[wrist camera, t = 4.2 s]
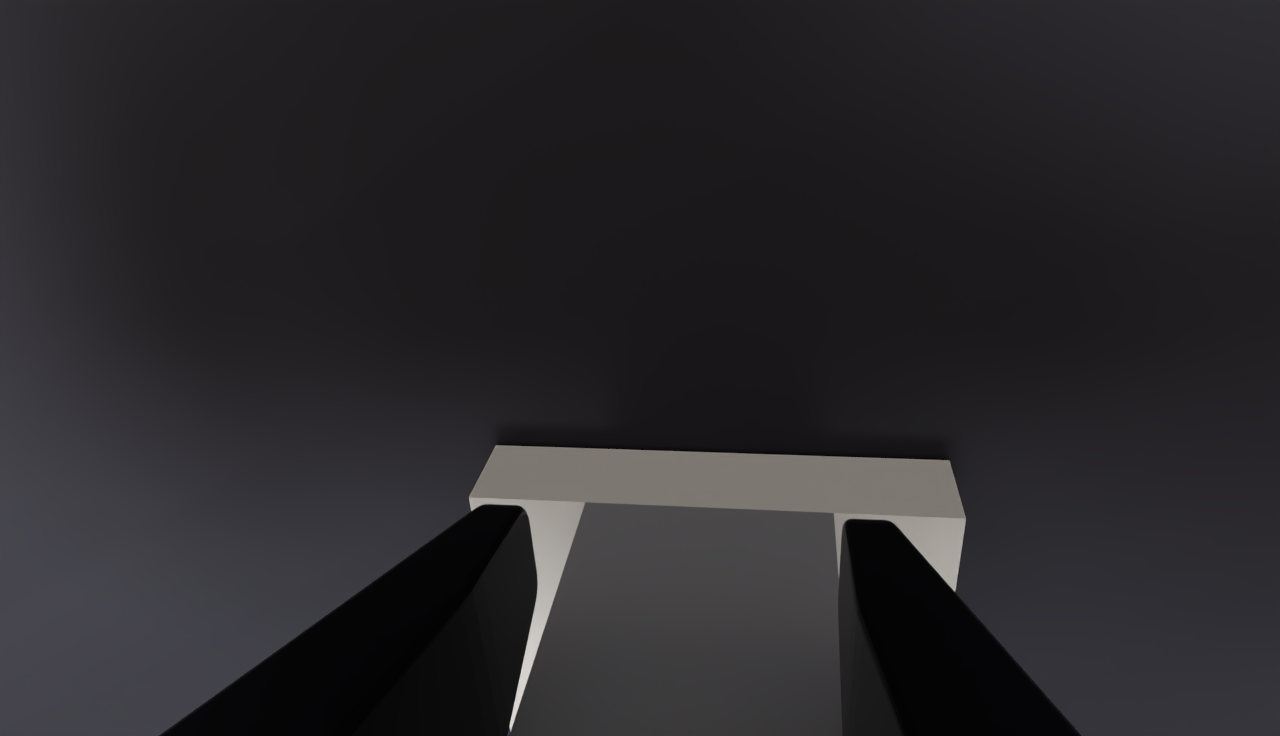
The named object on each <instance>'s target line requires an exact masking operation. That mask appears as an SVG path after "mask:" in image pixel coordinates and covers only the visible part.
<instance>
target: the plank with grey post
mask: <svg viewBox="0 0 1280 736" xmlns="http://www.w3.org/2000/svg"><path fill="white" fill-rule="evenodd" d="M469 501H470V507H471V511H472V510H474V509H475V508H477V507H479V506H480V505H484V504H497V505H518V506H521V507H522V508H524V509H525V510H526V512H527V515H528V517H529V522H530V528H531V535H532V542H533V549H534V556H535V562H536V569H537V580H538V586H537V598H536V603H535V608H534V613H533V618H532V622H531V627H530V632H529V636H528V641H527V646H526V651H525V655H524V660H523V665H522V669H521V674H520V679H519V683H518V688H517V693H516V698H515V702H514V707H513V712H512V716H511V721H510V731H511V733H510V736H842V709H841V681H840V653H839V626H838V589H839V572H840V554H841V537H842V528H843V524H844V523H845V521H846V520H848V519H874V520H888V521H891V522H892V523H894V524H895V525H896V526H897V527H898V528H899V529H900V530H901V531H902V533H903V534H904V535H905V536H906V537H907V538H908V539H909V541H910V542H911V543H912V544H913V545H914V546H915V547H916V549H917V550H918V551H919V552H920V553H921V554H922V555H923V556H924V558H925V559H926V560H927V561H928V562H929V563H930V564H931V566H932V567H933V568H934V569H935V570H936V571H937V572H938V573H939V575H940V576H941V577H942V578H943V579H944V580H945V581H946V583H947V584H948V585H949V586H950V587H951V588H952V589H953V591H954V592H955V591H956V584H957V577H958V570H959V564H960V557H961V550H962V543H963V536H964V530H965V523H966V516H965V513H964V510H963V506H962V503H961V499H960V496H959V492H958V489H957V485H956V482H955V478H954V475H953V471H952V468H951V464H950V461H949V460H926V459H896V458H866V457H836V456H806V455H776V454H746V453H716V452H686V451H656V450H626V449H596V448H566V447H536V446H506V445H496V446H495V448H494V450H493V452H492V453H491V455H490V457H489V459H488V461H487V463H486V465H485V467H484V469H483V471H482V473H481V475H480V477H479V479H478V480H477V482H476V484H475V486H474V488H473V490H472V492H471V494H470V496H469Z"/></svg>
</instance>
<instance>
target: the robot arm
mask: <svg viewBox="0 0 1280 736" xmlns="http://www.w3.org/2000/svg"><path fill="white" fill-rule="evenodd" d="M537 586H538V580H537V569H536V562H535V556H534V549H533V542H532V535H531V528H530V522H529V517H528V515H527V512H526V510H525V509H524V508H522V507H521V506H518V505H497V504H484V505H480V506H479V507H477V508H475V509H474V510H472V511H471V512H470V513H468V514H467V515H466V516H464V517H463V518H461V519H460V520H459V521H457V522H456V523H454V524H453V525H452V526H450V527H449V528H447V529H446V530H445V531H443V532H442V533H440V534H439V535H438V536H436V537H435V538H433V539H432V540H431V541H429V542H428V543H427V544H425V545H424V546H422V547H421V548H420V549H418V550H417V551H415V552H414V553H413V554H411V555H410V556H408V557H407V558H406V559H404V560H403V561H401V562H400V563H399V564H397V565H396V566H395V567H393V568H392V569H390V570H389V571H388V572H386V573H385V574H383V575H382V576H381V577H379V578H378V579H376V580H375V581H374V582H372V583H371V584H369V585H368V586H367V587H365V588H364V589H362V590H361V591H360V592H358V593H357V594H356V595H354V596H353V597H351V598H350V599H349V600H347V601H346V602H344V603H343V604H342V605H340V606H339V607H337V608H336V609H335V610H333V611H332V612H330V613H329V614H328V615H326V616H325V617H324V618H322V619H321V620H319V621H318V622H317V623H315V624H314V625H312V626H311V627H310V628H308V629H307V630H305V631H304V632H303V633H301V634H300V635H298V636H297V637H296V638H294V639H293V640H292V641H290V642H289V643H287V644H286V645H285V646H283V647H282V648H280V649H279V650H278V651H276V652H275V653H273V654H272V655H271V656H269V657H268V658H266V659H265V660H264V661H262V662H261V663H259V664H258V665H257V666H255V667H254V668H253V669H251V670H250V671H248V672H247V673H246V674H244V675H243V676H241V677H240V678H239V679H237V680H236V681H234V682H233V683H232V684H230V685H229V686H227V687H226V688H225V689H223V690H222V691H221V692H219V693H218V694H216V695H215V696H214V697H212V698H211V699H209V700H208V701H207V702H205V703H204V704H202V705H201V706H200V707H198V708H197V709H195V710H194V711H193V712H191V713H190V714H188V715H187V716H186V717H184V718H183V719H182V720H180V721H179V722H177V723H176V724H175V725H173V726H172V727H170V728H169V729H168V730H166V731H165V732H163V733H162V734H161V735H159V736H507V734H508V730H509V726H510V721H511V716H512V712H513V707H514V702H515V698H516V693H517V688H518V683H519V679H520V674H521V669H522V665H523V660H524V655H525V651H526V646H527V641H528V636H529V632H530V627H531V622H532V618H533V613H534V608H535V603H536V598H537ZM838 626H839V653H840V681H841V709H842V736H1081V735H1080V734H1079V732H1078V731H1077V730H1076V729H1075V728H1074V727H1073V726H1072V724H1071V723H1070V722H1069V721H1068V720H1067V719H1066V718H1065V717H1064V715H1063V714H1062V713H1061V712H1060V711H1059V710H1058V709H1057V707H1056V706H1055V705H1054V704H1053V703H1052V702H1051V701H1050V699H1049V698H1048V697H1047V696H1046V695H1045V694H1044V693H1043V692H1042V690H1041V689H1040V688H1039V687H1038V686H1037V685H1036V684H1035V682H1034V681H1033V680H1032V679H1031V678H1030V677H1029V676H1028V675H1027V673H1026V672H1025V671H1024V670H1023V669H1022V668H1021V667H1020V665H1019V664H1018V663H1017V662H1016V661H1015V660H1014V659H1013V657H1012V656H1011V655H1010V654H1009V653H1008V652H1007V651H1006V650H1005V648H1004V647H1003V646H1002V645H1001V644H1000V643H999V642H998V640H997V639H996V638H995V637H994V636H993V635H992V634H991V633H990V631H989V630H988V629H987V628H986V627H985V626H984V625H983V623H982V622H981V621H980V620H979V619H978V618H977V617H976V615H975V614H974V613H973V612H972V611H971V610H970V609H969V608H968V606H967V605H966V604H965V603H964V602H963V601H962V600H961V598H960V597H959V596H958V595H957V594H956V593H955V592H954V591H953V589H952V588H951V587H950V586H949V585H948V584H947V583H946V581H945V580H944V579H943V578H942V577H941V576H940V575H939V573H938V572H937V571H936V570H935V569H934V568H933V567H932V566H931V564H930V563H929V562H928V561H927V560H926V559H925V558H924V556H923V555H922V554H921V553H920V552H919V551H918V550H917V549H916V547H915V546H914V545H913V544H912V543H911V542H910V541H909V539H908V538H907V537H906V536H905V535H904V534H903V533H902V531H901V530H900V529H899V528H898V527H897V526H896V525H895V524H894V523H892V522H891V521H888V520H874V519H848V520H846V521H845V523H844V524H843V528H842V537H841V554H840V572H839V589H838Z"/></svg>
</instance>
